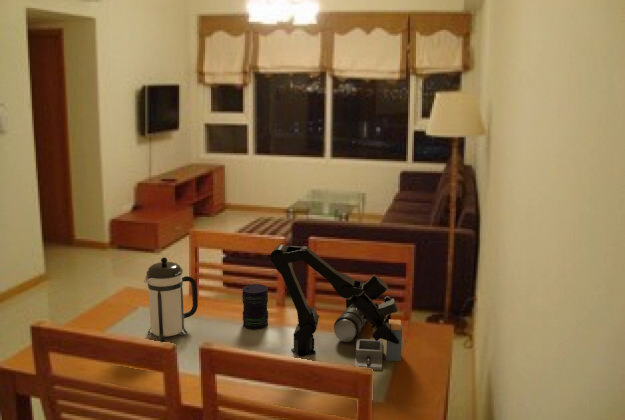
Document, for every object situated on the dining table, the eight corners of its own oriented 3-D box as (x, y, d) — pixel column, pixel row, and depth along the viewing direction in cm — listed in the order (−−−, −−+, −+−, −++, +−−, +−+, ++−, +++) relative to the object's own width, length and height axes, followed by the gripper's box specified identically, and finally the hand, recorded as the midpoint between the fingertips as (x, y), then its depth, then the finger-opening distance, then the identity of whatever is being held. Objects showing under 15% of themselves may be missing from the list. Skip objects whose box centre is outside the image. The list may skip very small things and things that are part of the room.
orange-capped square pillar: (386, 360, 204) (387, 324, 201) (386, 353, 209) (387, 318, 206) (400, 361, 204) (402, 325, 201) (400, 354, 208) (402, 319, 206)
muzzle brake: (374, 318, 240) (375, 294, 238) (357, 347, 214) (358, 320, 212) (351, 316, 243) (351, 291, 241) (331, 344, 217) (332, 317, 215)
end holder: (354, 368, 198) (354, 357, 197) (357, 342, 218) (358, 332, 217) (381, 370, 197) (382, 359, 196) (382, 344, 216) (383, 333, 216)
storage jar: (270, 320, 237) (269, 284, 234) (266, 330, 228) (265, 293, 225) (245, 319, 238) (244, 283, 235) (240, 329, 229) (239, 292, 226)
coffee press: (180, 345, 215) (177, 265, 209) (139, 341, 218) (135, 262, 212) (199, 326, 232) (196, 251, 225) (160, 322, 235) (157, 248, 228)
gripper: (383, 302, 193) (417, 336, 194) (384, 283, 211) (414, 314, 212) (358, 324, 195) (391, 357, 196) (361, 303, 213) (391, 334, 214)
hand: (398, 339), depth 205 cm, fingers closed on orange-capped square pillar, 5 cm apart
